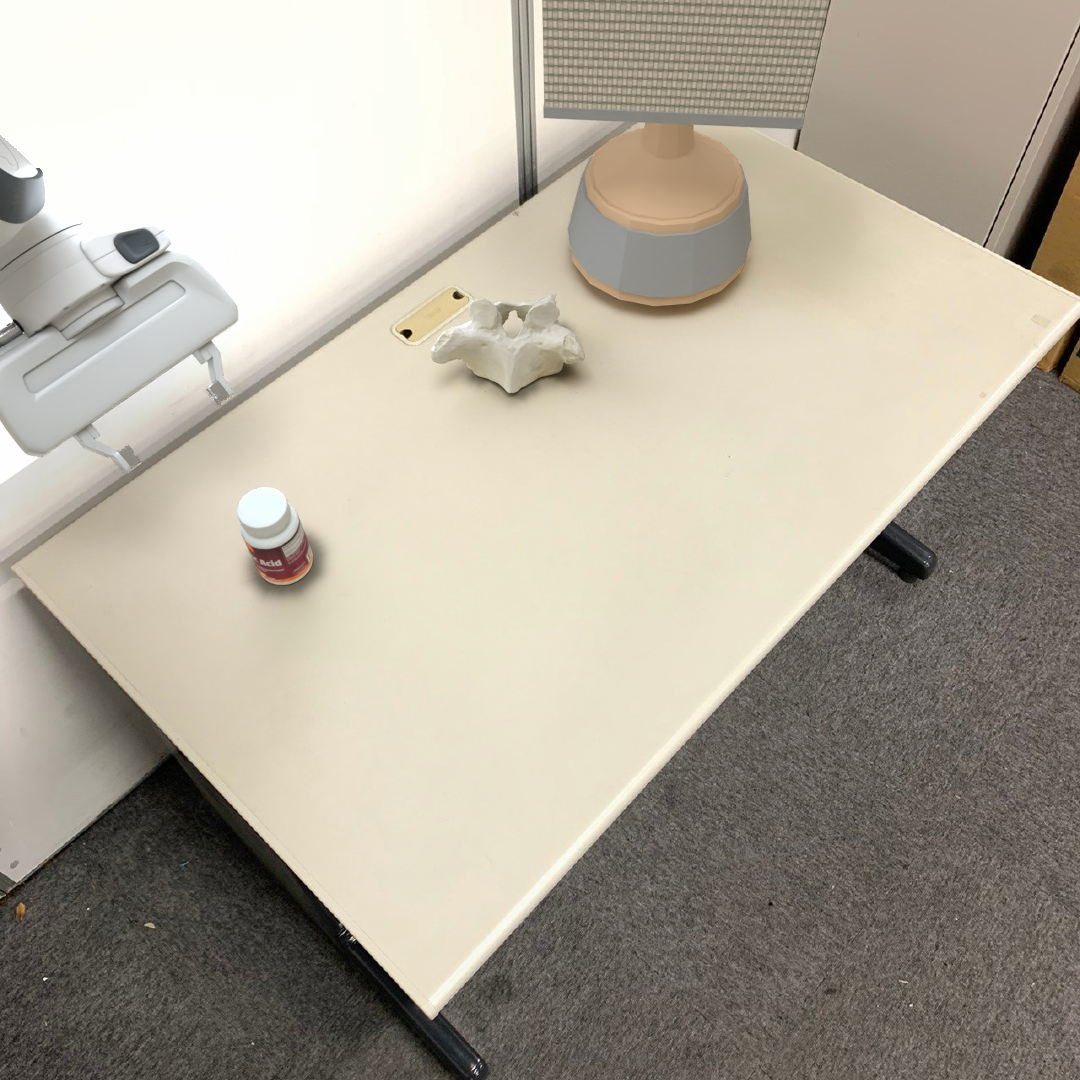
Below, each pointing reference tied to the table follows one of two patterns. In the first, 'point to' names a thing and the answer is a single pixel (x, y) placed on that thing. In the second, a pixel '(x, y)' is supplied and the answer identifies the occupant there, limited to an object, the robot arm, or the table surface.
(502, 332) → the bone
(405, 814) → the table surface
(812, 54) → the desk lamp
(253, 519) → the pill bottle
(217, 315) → the robot arm
